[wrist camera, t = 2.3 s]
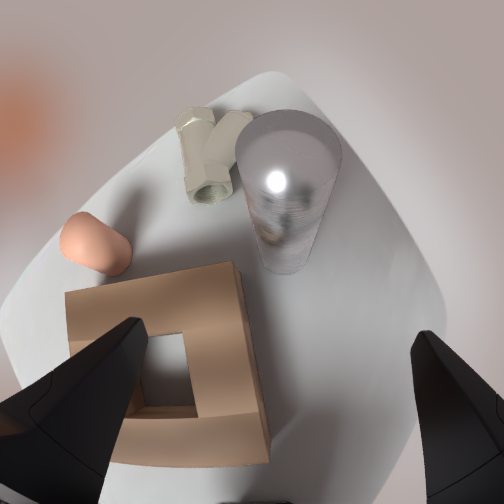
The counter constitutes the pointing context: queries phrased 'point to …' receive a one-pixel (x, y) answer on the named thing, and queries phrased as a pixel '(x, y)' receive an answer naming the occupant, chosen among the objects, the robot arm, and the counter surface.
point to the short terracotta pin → (95, 245)
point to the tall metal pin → (287, 182)
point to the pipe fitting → (209, 152)
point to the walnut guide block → (199, 363)
